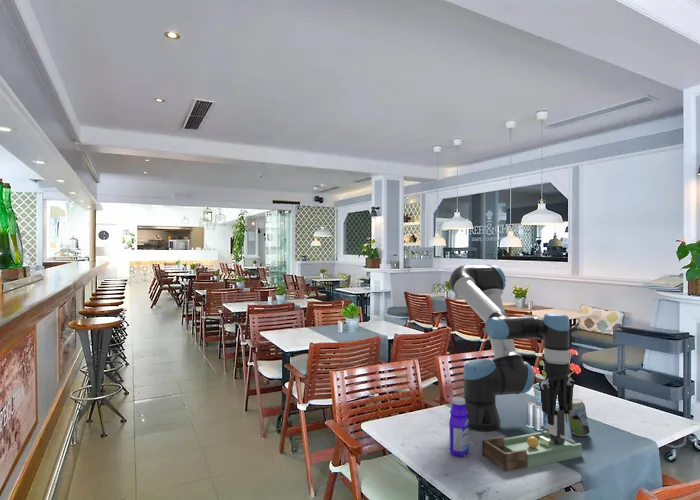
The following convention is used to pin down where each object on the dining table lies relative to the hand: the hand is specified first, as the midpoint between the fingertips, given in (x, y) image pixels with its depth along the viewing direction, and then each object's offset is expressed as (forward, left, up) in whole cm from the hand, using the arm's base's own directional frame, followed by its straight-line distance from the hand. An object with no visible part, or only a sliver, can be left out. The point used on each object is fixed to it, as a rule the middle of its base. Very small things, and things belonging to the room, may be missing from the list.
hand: (557, 433), depth 141 cm
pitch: (-3, -6, -6) cm, 9 cm away
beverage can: (+2, +19, -6) cm, 20 cm away
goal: (-11, -18, -6) cm, 22 cm away
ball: (-5, -9, -3) cm, 11 cm away
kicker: (-1, -2, -3) cm, 4 cm away
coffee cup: (-15, +46, -6) cm, 48 cm away
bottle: (-24, -22, -6) cm, 33 cm away
